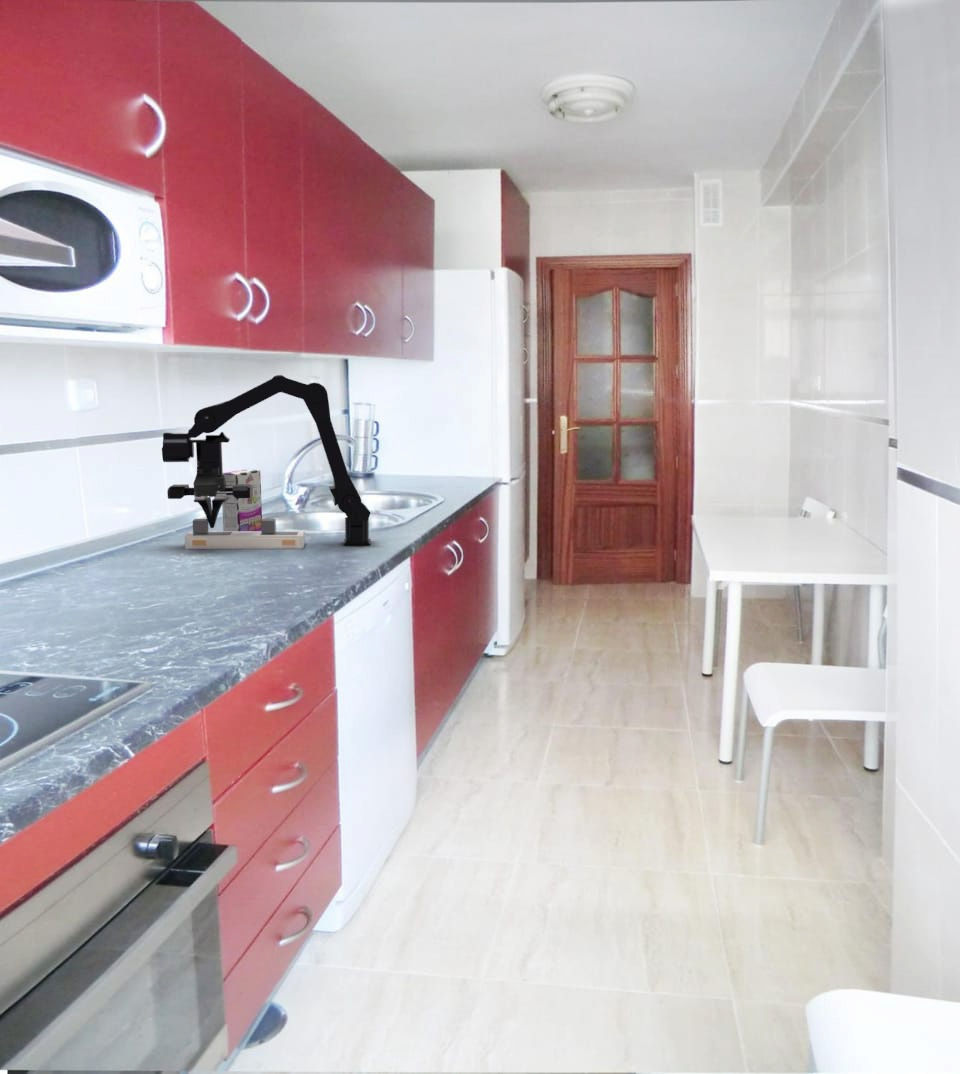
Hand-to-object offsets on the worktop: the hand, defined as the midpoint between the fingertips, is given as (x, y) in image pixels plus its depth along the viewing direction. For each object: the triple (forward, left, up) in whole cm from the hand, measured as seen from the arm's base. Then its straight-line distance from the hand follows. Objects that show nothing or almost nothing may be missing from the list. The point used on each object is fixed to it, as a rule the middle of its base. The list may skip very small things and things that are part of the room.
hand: (212, 527), depth 219 cm
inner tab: (0, +13, -1) cm, 13 cm away
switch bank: (0, +8, -4) cm, 9 cm away
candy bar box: (-16, +5, -5) cm, 17 cm away
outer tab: (0, -3, -1) cm, 3 cm away
